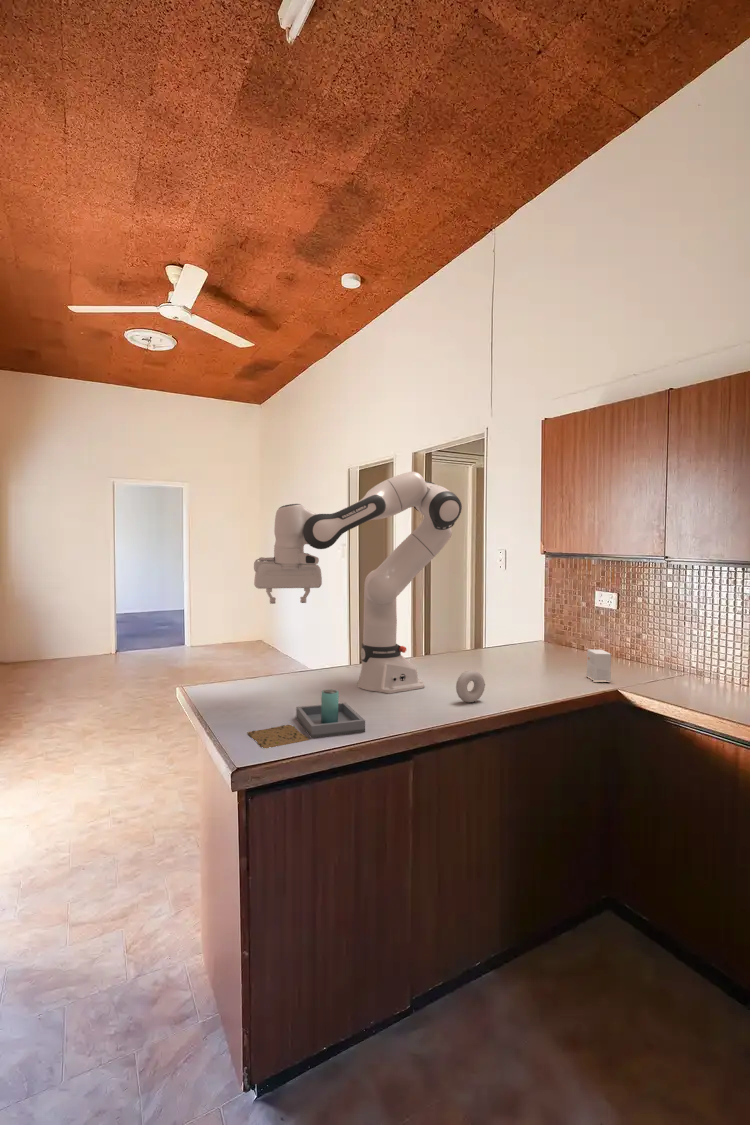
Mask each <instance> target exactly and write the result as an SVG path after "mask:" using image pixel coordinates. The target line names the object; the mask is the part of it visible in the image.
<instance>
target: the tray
mask: <svg viewBox="0 0 750 1125" xmlns="http://www.w3.org/2000/svg"><path fill="white" fill-rule="evenodd" d="M295 709H296V710H295V711H296V712H295V713H296V714H295V715H296V719H297V721H298V722H299V724H300V725H301V726H302V728H303V729H304V730H305V732H306V733H307V734H308V736H309V737H310V738H311V739H319V738H326V737H333V736H334V737H335V736H342V735H343V736H344V735H352V734H353V735H354V734H361V733H365V732H366V720H365V719H364V718H363V717H362V716H361V715H360V714H359V713H358V712H357V711H355V709H353V708H352V707H351V706H350V704H348V703H347V702H344V701H343V702H338V722H334V723H325V724H323V723H321V704H315V705H305V706H303V705H302V706H296V708H295Z"/></svg>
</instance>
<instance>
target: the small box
mask: <svg viewBox="0 0 750 1125" xmlns="http://www.w3.org/2000/svg"><path fill="white" fill-rule="evenodd" d="M586 651H587V653H586V655H587V656H586V677H587V676H589V677H591V678H592V679H594V680H606V681H610V682H611V674H612V672H611V671H612V670H611V669H612V668H611V667H612V653H610V652H608V651H606V650H603V649H594V648H593V649H587V650H586Z"/></svg>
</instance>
